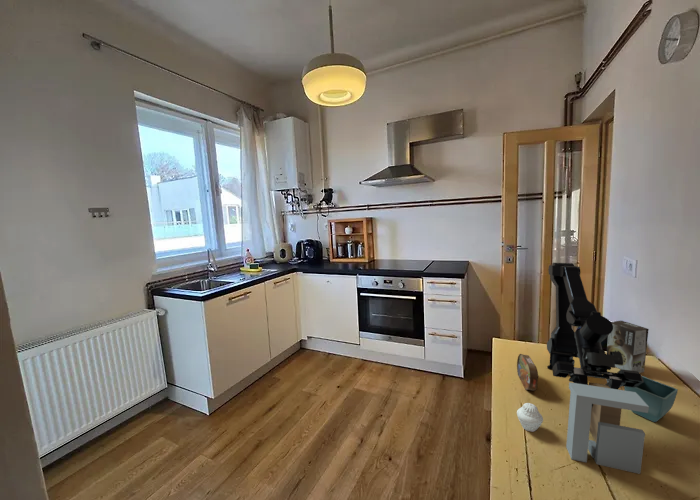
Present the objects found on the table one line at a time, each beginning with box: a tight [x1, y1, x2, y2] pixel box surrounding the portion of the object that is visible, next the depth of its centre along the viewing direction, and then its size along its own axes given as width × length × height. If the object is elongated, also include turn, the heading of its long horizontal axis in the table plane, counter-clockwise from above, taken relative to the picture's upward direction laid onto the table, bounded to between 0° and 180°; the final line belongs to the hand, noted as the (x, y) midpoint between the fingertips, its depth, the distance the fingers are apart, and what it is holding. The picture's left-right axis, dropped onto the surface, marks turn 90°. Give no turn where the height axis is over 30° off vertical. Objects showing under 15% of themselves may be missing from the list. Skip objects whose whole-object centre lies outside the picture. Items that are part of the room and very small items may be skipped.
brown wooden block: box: [588, 381, 623, 442], centre depth 78 cm, size 8×4×12 cm, turn 159°
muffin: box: [516, 402, 544, 433], centre depth 83 cm, size 6×6×7 cm
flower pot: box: [624, 375, 679, 423], centre depth 87 cm, size 9×9×9 cm
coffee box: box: [606, 320, 650, 374], centre depth 112 cm, size 9×6×16 cm
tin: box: [516, 353, 539, 392], centre depth 104 cm, size 15×3×8 cm, turn 164°
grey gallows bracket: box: [565, 381, 649, 475], centre depth 72 cm, size 6×13×16 cm, turn 69°
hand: (601, 408), depth 78 cm, fingers closed on brown wooden block, 4 cm apart
